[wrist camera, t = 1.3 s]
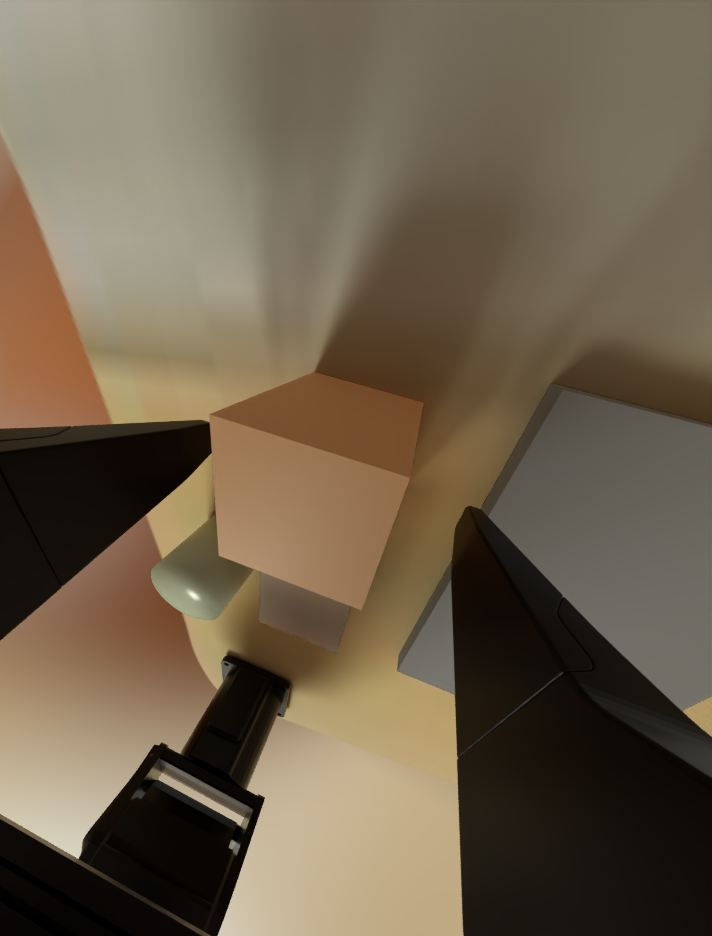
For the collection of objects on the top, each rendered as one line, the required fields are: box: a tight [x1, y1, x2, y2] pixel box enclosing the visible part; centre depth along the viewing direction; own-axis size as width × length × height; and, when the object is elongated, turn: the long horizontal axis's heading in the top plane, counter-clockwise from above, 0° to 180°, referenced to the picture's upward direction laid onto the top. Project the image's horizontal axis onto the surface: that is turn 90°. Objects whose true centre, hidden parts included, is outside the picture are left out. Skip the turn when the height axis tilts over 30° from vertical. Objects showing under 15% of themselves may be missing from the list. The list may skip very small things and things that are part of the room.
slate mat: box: [397, 383, 712, 711], centre depth 13 cm, size 18×12×1 cm, turn 169°
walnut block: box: [259, 572, 351, 653], centre depth 14 cm, size 4×4×4 cm
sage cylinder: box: [151, 515, 254, 620], centre depth 16 cm, size 4×4×4 cm
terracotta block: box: [209, 372, 424, 611], centre depth 9 cm, size 4×4×6 cm
